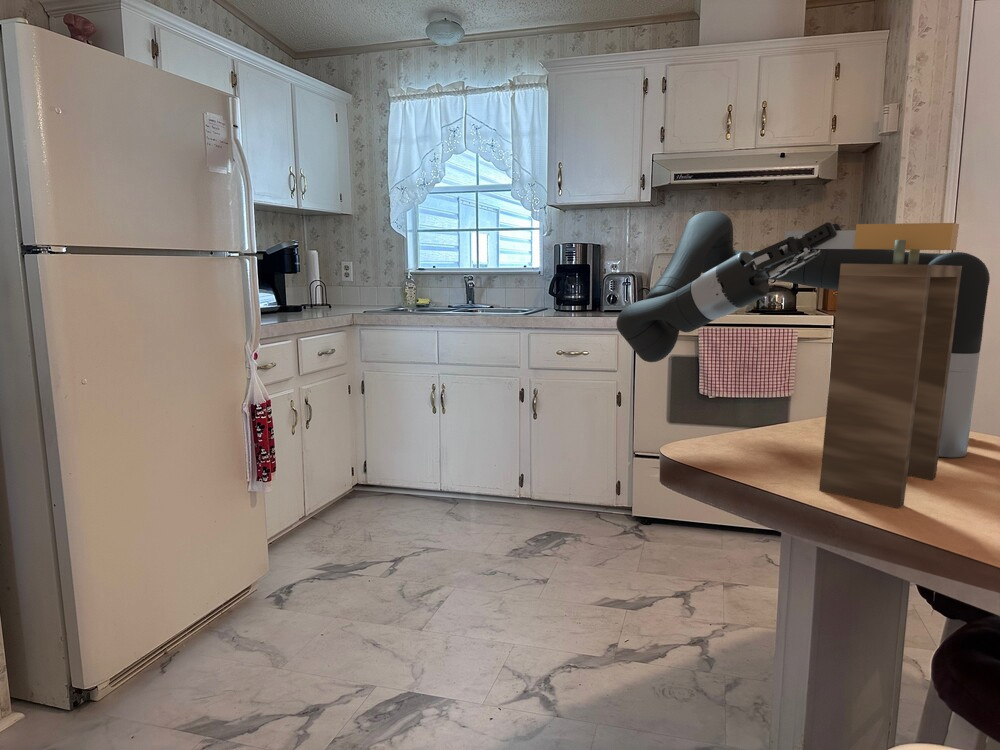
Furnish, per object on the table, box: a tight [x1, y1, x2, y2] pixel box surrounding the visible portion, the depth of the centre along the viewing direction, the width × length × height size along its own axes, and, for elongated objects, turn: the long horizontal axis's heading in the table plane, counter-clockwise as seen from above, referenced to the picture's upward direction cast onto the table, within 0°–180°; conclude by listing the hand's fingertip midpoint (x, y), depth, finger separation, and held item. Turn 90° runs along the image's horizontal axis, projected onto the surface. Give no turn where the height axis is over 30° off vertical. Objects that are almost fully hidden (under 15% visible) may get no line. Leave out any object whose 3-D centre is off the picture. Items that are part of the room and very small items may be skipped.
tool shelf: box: [818, 240, 962, 510], centre depth 96 cm, size 19×10×34 cm, turn 136°
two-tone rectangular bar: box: [784, 222, 960, 251], centre depth 93 cm, size 3×20×3 cm, turn 46°
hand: (836, 229), depth 95 cm, fingers closed on two-tone rectangular bar, 2 cm apart
